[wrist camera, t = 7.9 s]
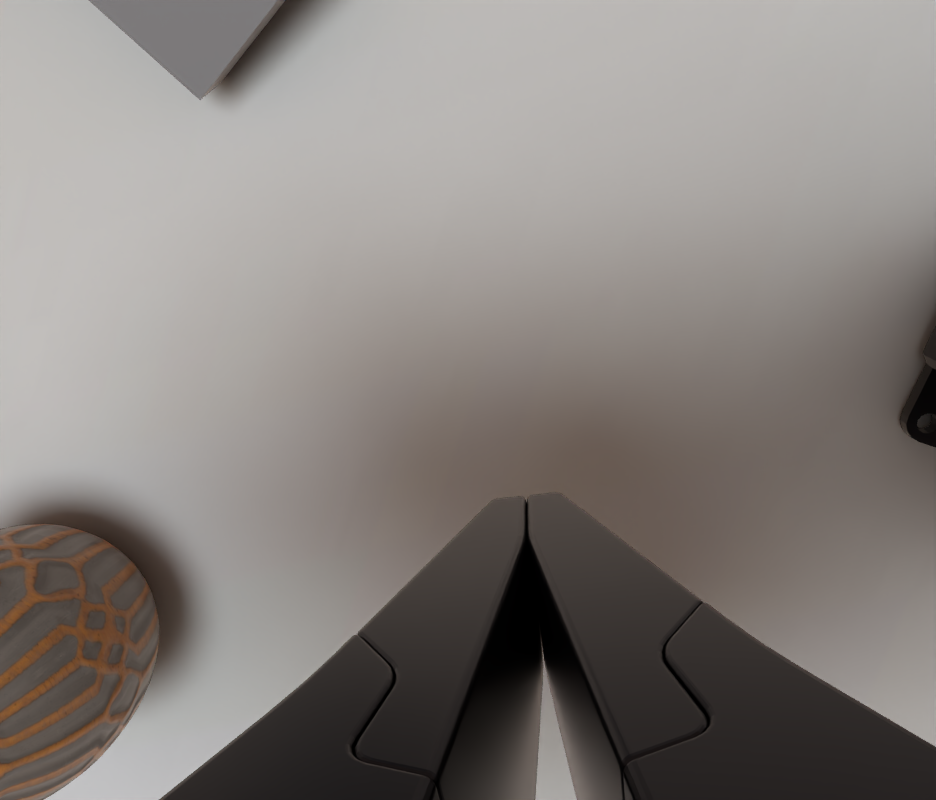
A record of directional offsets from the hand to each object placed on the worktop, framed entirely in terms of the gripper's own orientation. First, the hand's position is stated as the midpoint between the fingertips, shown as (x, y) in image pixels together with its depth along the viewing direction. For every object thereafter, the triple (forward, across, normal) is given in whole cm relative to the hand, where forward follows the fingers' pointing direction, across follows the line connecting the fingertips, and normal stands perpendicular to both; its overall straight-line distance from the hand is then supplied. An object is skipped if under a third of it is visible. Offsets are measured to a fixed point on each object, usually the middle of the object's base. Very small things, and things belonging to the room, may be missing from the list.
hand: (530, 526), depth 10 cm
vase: (+11, -14, -10) cm, 20 cm away
